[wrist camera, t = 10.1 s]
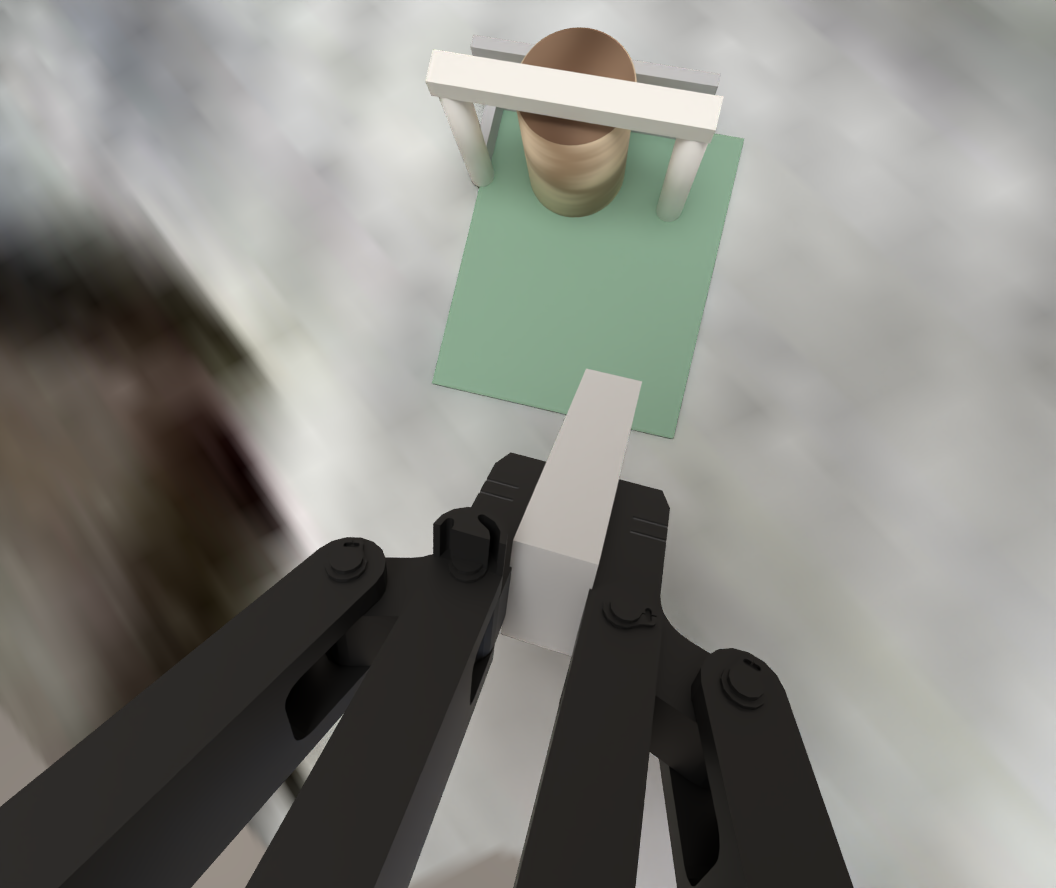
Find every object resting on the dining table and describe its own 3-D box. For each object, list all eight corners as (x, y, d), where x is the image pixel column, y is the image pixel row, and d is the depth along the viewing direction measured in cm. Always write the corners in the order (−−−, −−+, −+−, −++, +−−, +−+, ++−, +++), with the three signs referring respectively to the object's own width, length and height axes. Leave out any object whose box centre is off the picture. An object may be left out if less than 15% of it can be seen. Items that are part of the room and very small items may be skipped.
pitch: (742, 142, 40) (744, 138, 39) (672, 438, 39) (673, 438, 39) (502, 100, 42) (501, 97, 41) (433, 383, 41) (432, 383, 41)
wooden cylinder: (629, 125, 40) (642, 27, 31) (619, 220, 40) (630, 149, 31) (534, 121, 41) (520, 24, 32) (524, 214, 41) (507, 143, 32)
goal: (700, 132, 40) (745, 3, 29) (678, 224, 40) (715, 130, 28) (489, 96, 41) (454, -39, 30) (468, 184, 41) (425, 81, 30)
